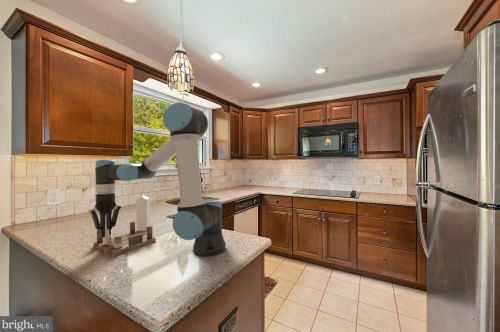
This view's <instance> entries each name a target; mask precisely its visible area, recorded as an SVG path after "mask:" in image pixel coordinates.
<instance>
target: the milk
mask: <svg viewBox="0 0 500 332" xmlns="http://www.w3.org/2000/svg"><path fill="white" fill-rule="evenodd" d="M135 203H136V205H135V207H136V210H135V213H136V217H135V218H136V220H135V228H136V232H138V231H139V232H143V231H144V232H145V231H147V227H148V226H151V225H150V224H151V223H150V220H151V219H150V218H151V217H150V216H151V214H150V211H151V210H150V197H148V196H146V195H145V193H142V194H141V195H140V197H139V198H137V199H136V200H135Z"/></svg>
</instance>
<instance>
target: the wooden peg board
mask: <svg viewBox="0 0 500 332" xmlns="http://www.w3.org/2000/svg"><path fill="white" fill-rule="evenodd" d="M119 236H121V238H122V247H119V248H114V247H111V246H109V245H107V244H103V237H101V230H97V229H96V241H95V242H93V248H95V249H96V250H99V251H102V252H105V253H106V254H109V255H111V256H113V257H115V256H118V255H120V254H121V255H122V254H124V253H127V252H131V251H133V250H135V249H136V250H137V249H138V248H141V247H145V246H147V245H150V244H153V243H156V241H157V240H156V239H157V238H156V237H155V236H153V226H152V225H150V226H148V227H147V230H146V234H143V233H140V232H138V231H136V221H130V222H129V232H127V233H123V234H120V235H119Z"/></svg>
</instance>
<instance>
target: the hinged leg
mask: <svg viewBox="0 0 500 332" xmlns="http://www.w3.org/2000/svg"><path fill="white" fill-rule="evenodd" d="M107 245H109V246H111V247H114V248H119V247H122V238H121V236H120V235H117V236H116V235H114V234H112V233H111V235H110V236H109V244H107Z"/></svg>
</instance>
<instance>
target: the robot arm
mask: <svg viewBox="0 0 500 332" xmlns="http://www.w3.org/2000/svg"><path fill="white" fill-rule="evenodd" d="M162 123H163V125H164V126H165V128H166V129H167V130H168V131H169V134H170V138H169V139H168V140H167V141H166V142H164V144H162V145H160V146H159V148H158V149H156V151H154V152H153V153H152V154H151V155H149V156H148V157H147V158H146V159H145V160H144V161H142V162H141V163H136V164H135V163H120V164H119V163H118V164H116V162H115V160H112V159H98V160H96V161H95V169H94V170H95V193H96V194H95V205H94V207H93V208H92V209H89V210H88V213H89V214H90V215H91V218H92V220H93V224H94V227H95V228H94V229H96V231H97V230H101V237H103V244H109V236H110V235H111V234H112V229H113V228H114V227H116V225H117V221H118V217H119V212H120V210H121V208H122V206H121V205H118V204H117V203H116V193H115V192H116V181H119V182H120V181H121V182H123V181H124V182H127V181H128V182H129V181H134V180H144V179H145V180H147V179H152V178H154V177H155V176H156V174H157V171H158V170H159V169H160V168H162V167H164V165H165V164H167V163H168V162H169V161H170V160H171V159H173V158H174V157H176V158H175V159H176V164H177V166H176V167H177V177H178V188H179V199H180V201H179V203H178V204H177V205H176V210H177V212H176V214H175V216H174V217H173V219H172V229H173V231H174V233H175V234H176V235H177V236H178V237H179V238H180V239H183V240H185V241H192V240H194V242H193V245H192V253H193V254H194V255H196V256H200V257H212V256H217V255H219V254H221V253H224V252H225V251H226V247H227V246H226V245H227V244H226V241H225V239H224V236H223V230H222V229H223V224H222V223H223V220H222V219H223V217H222V216H223V207H222V202H221V201H220V200H209V199H208V200H206V199H204V198H203V192H202V183H201V172H200V170H201V169H200V161H199V159H200V158H199V151H198V150H199V149H198V141H199V140H200V138H202V137H203V136H204V135H205V134H206V132H207V130H208V128H209V121H208V117H207V115H206V114H205V113H204V112H202V111H201V110H200V109H197V108H196V107H195V108H194V107H193V106H190V104H187V103H185V102H182V101H177V102H176V101H175V102H173V103H171V104H169V105H168V106H167V108H166V109H165V110H164V111H163V114H162ZM97 212H98V213H99V217H98V214H97Z"/></svg>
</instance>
